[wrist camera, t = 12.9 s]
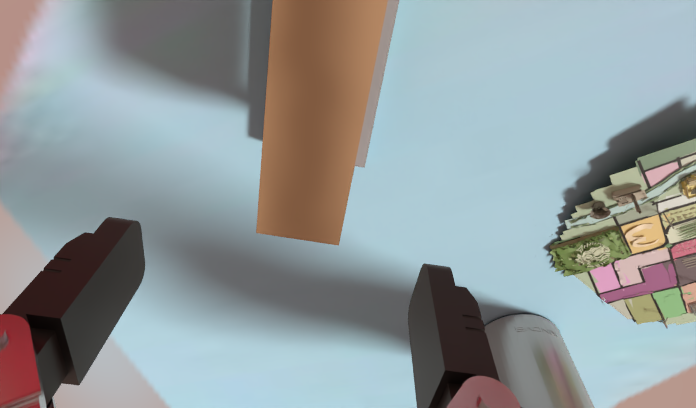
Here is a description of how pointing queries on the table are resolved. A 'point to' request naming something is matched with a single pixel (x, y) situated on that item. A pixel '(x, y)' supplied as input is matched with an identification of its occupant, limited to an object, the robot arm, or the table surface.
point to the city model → (639, 239)
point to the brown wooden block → (315, 113)
